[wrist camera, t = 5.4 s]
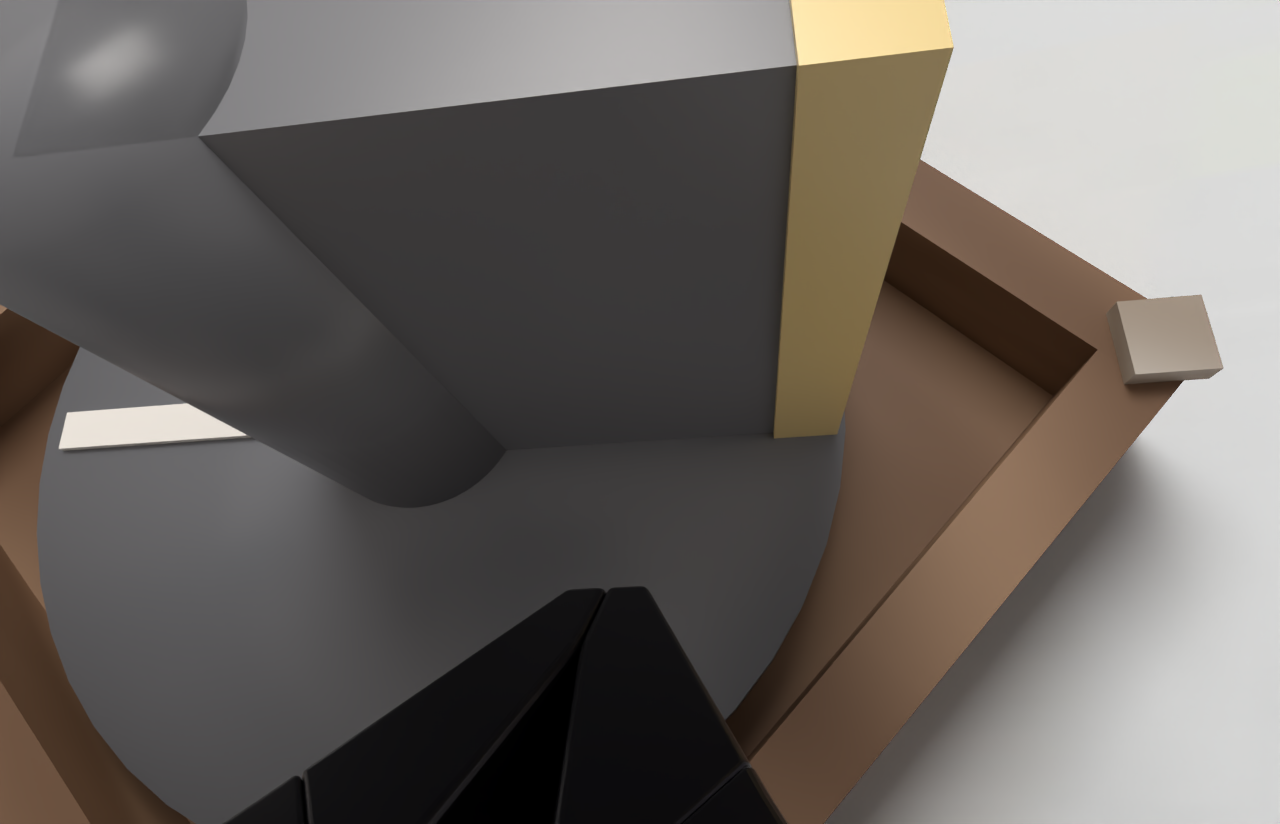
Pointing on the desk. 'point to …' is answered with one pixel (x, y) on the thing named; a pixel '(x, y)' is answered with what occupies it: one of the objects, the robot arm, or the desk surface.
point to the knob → (435, 336)
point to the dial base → (862, 522)
